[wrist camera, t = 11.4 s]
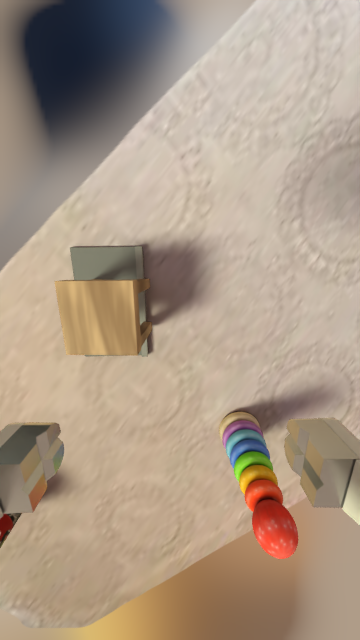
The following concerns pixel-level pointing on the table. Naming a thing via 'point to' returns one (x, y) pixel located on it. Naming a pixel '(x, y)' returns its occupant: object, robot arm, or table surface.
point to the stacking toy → (259, 484)
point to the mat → (111, 271)
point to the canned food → (7, 525)
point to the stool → (102, 316)
